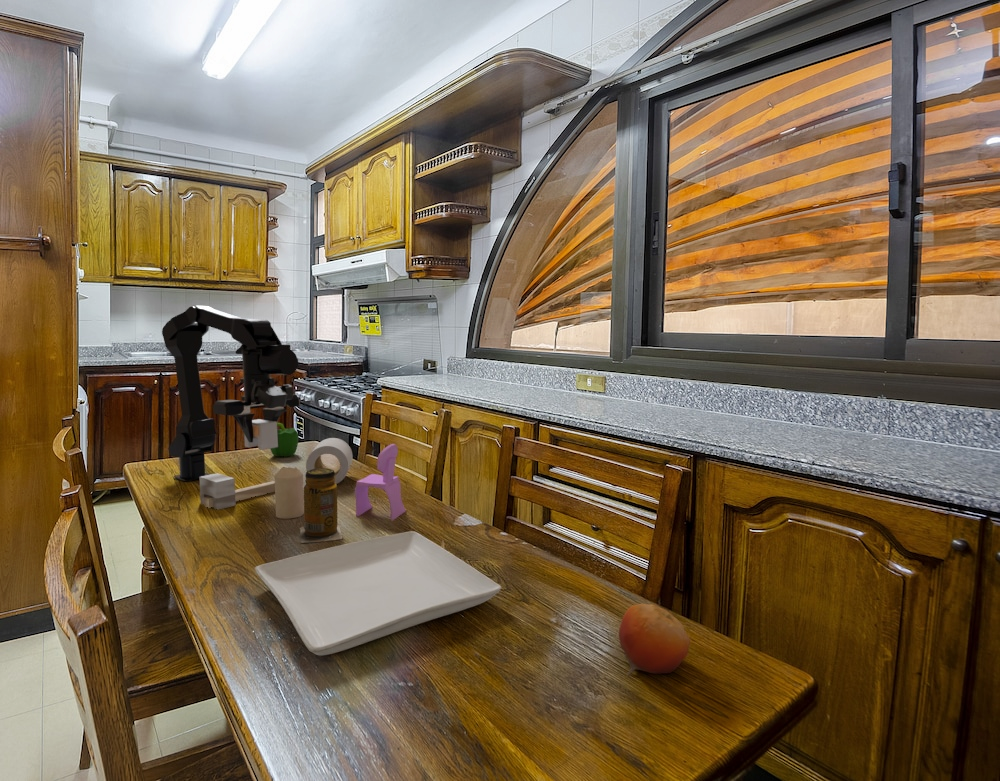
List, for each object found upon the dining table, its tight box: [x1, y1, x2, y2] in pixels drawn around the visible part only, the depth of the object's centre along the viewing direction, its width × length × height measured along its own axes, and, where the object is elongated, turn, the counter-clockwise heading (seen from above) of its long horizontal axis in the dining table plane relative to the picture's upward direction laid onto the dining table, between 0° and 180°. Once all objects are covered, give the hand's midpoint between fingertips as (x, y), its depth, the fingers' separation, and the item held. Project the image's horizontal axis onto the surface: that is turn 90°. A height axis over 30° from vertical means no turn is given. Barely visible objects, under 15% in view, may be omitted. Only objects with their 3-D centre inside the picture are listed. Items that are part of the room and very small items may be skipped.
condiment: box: [299, 467, 343, 544], centre depth 108 cm, size 7×8×12 cm
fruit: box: [618, 603, 691, 676], centre depth 67 cm, size 8×8×8 cm
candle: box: [274, 466, 304, 520], centre depth 118 cm, size 6×6×10 cm
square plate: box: [254, 530, 502, 656], centre depth 84 cm, size 27×27×4 cm
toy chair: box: [354, 443, 406, 521], centre depth 120 cm, size 8×9×15 cm
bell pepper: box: [270, 422, 299, 457], centre depth 171 cm, size 8×8×10 cm
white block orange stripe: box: [243, 418, 278, 451], centre depth 134 cm, size 7×4×6 cm, turn 56°
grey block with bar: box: [198, 472, 275, 511], centre depth 130 cm, size 7×18×6 cm, turn 145°
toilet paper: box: [305, 437, 353, 485], centre depth 145 cm, size 10×10×10 cm
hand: (260, 440), depth 134 cm, fingers closed on white block orange stripe, 4 cm apart
